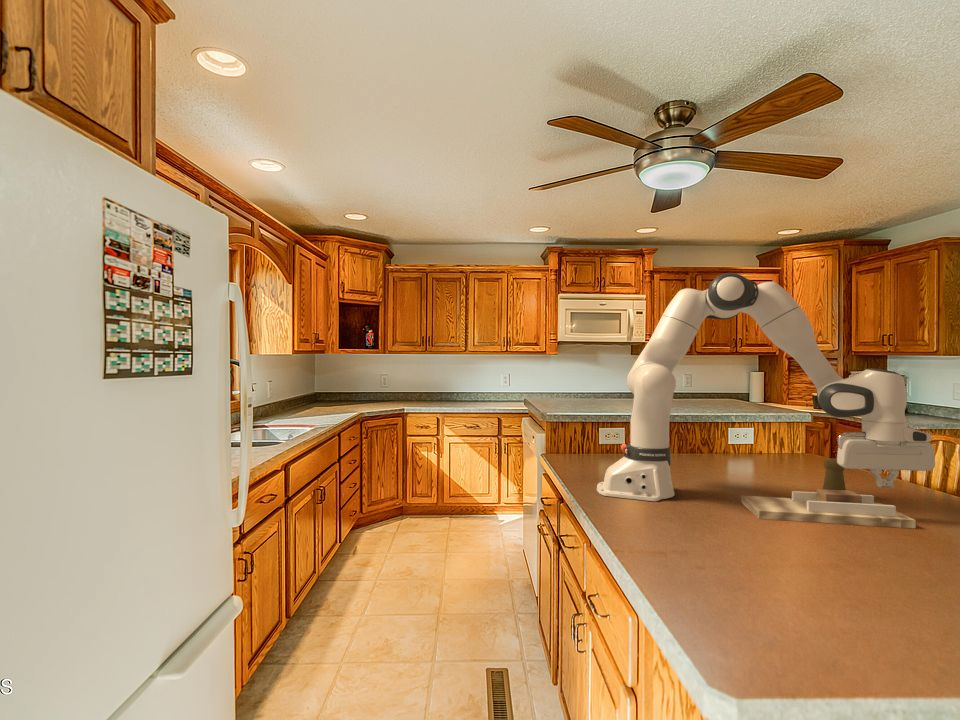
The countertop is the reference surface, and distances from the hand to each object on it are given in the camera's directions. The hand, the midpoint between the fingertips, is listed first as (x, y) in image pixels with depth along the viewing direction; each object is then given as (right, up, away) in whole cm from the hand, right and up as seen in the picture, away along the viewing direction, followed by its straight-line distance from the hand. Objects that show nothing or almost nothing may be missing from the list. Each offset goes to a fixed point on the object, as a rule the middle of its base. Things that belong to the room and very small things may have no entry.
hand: (884, 486), depth 123 cm
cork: (+2, -8, +20) cm, 22 cm away
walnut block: (-10, -6, +2) cm, 12 cm away
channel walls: (-10, -6, +2) cm, 12 cm away
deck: (-14, -8, +3) cm, 16 cm away
